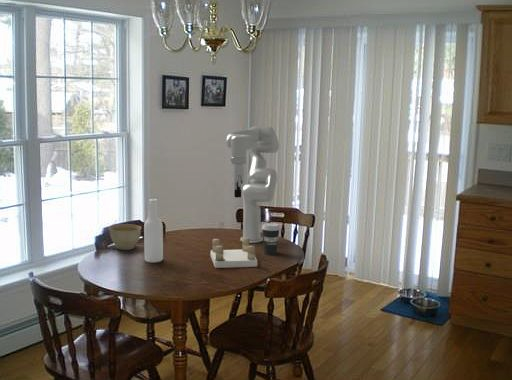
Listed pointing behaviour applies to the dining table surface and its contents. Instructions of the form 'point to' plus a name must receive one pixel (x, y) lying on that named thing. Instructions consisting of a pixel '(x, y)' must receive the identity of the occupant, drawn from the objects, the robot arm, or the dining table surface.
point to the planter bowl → (125, 236)
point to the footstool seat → (233, 259)
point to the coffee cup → (270, 238)
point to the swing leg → (219, 252)
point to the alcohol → (153, 235)
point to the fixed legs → (245, 247)
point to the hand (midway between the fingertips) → (237, 197)
